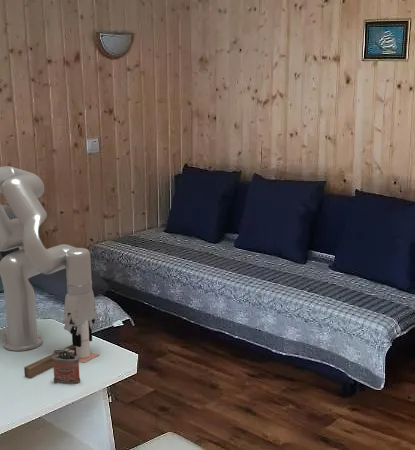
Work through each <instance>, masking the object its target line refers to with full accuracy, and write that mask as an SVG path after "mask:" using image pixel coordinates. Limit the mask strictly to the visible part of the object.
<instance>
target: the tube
mask: <svg viewBox="0 0 415 450" xmlns="http://www.w3.org/2000/svg"><path fill="white" fill-rule="evenodd" d="M74 329H75V330H76V327H74ZM79 334H80V335H81V347H77V346H76V356H77V357H79V358H87V357H89V356H90V352H91V349H90V341H89V325H88V321H87V320H86V321H85V323H84V324H82V325H80V331H79Z"/></svg>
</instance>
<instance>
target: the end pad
mask: <svg viewBox="0 0 415 450" xmlns="http://www.w3.org/2000/svg"><path fill="white" fill-rule="evenodd" d="M99 356H100V354H99V353H95V352H91V351H90V356H89V357H87V358H79V363H84V364H86V363H88V362H90V361H91V360H93V359H95V358H97V357H99Z"/></svg>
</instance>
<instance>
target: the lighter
mask: <svg viewBox="0 0 415 450" xmlns="http://www.w3.org/2000/svg"><path fill="white" fill-rule="evenodd" d="M65 348H66V347H65ZM63 349H64V348H55V349H54V350H53V353H54V354H59V355H55V356H53V357H52V360H53V368H52V369H53V383H55V384H62V385H78V384H80V383H81V378H80V364H79V363H80V362H79V357H77V356H74V354H75V351H74V350H69V349H68V348H66V349H65V350H63ZM61 354H62V355H61Z"/></svg>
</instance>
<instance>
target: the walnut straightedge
mask: <svg viewBox="0 0 415 450" xmlns="http://www.w3.org/2000/svg"><path fill="white" fill-rule="evenodd" d="M66 348H68V349H69V350H74V351H75V354H74V356H76V346H74V345H73V344H70V345H68V346H65V347H64V348H62V349H63V350H65V349H66ZM55 355H59V354H54V352H53V353H51V354H49V355H47V356H45V357H43V358H41V359H38V360H36V361H35V362H31V363H30V364H28V365H26V366H24V367H23V370H24V377H25V378H27V379H33V378H35V377H36V376H38V375H40V374H43V373H44V372H47V371H48V370H50V369H54V368H53V360H52V357H53V356H55ZM61 355H62V354H61Z"/></svg>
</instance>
